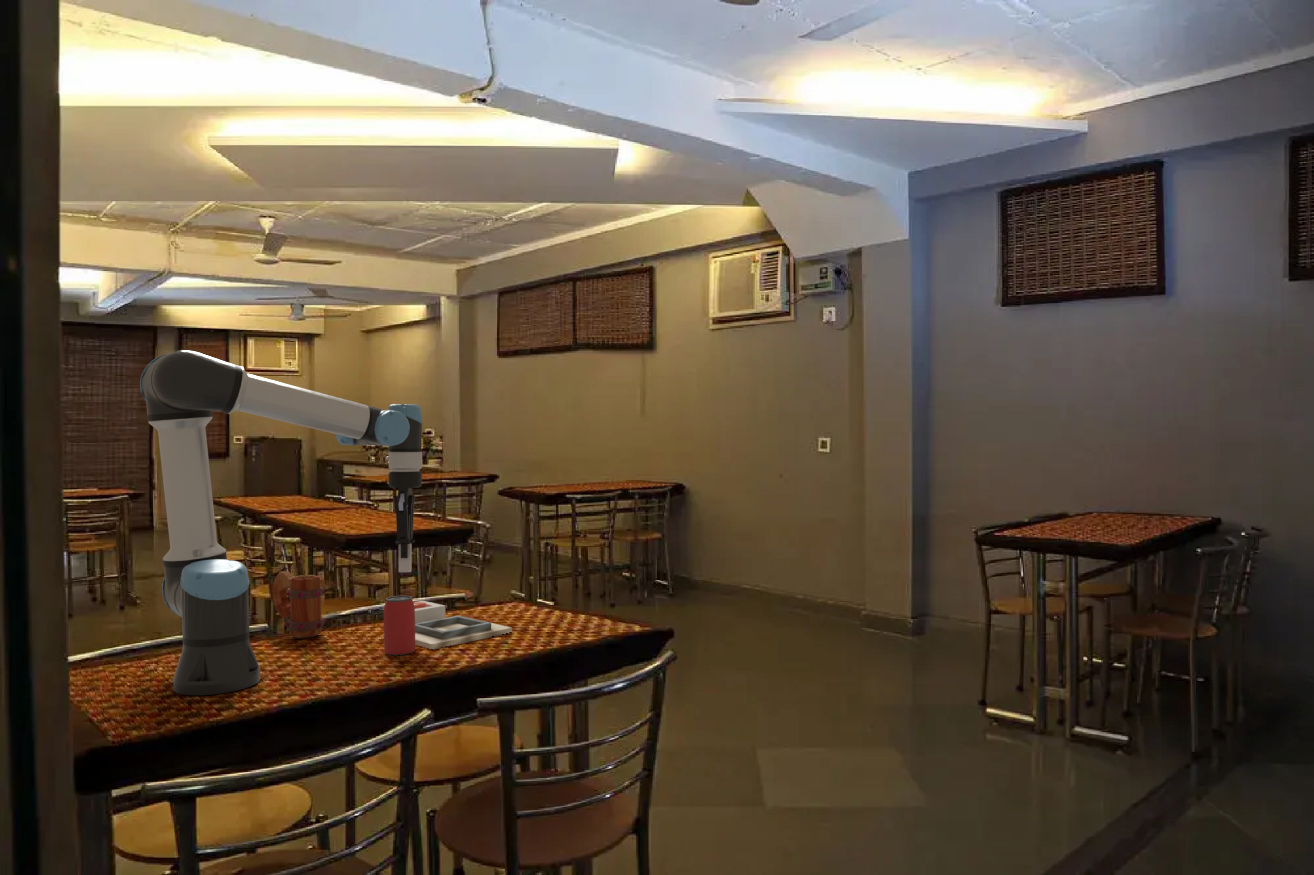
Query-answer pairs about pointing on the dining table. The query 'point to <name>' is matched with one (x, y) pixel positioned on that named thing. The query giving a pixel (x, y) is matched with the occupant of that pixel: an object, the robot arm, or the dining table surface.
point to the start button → (419, 605)
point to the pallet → (455, 631)
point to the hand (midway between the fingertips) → (405, 571)
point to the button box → (429, 612)
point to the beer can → (399, 625)
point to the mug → (299, 603)
